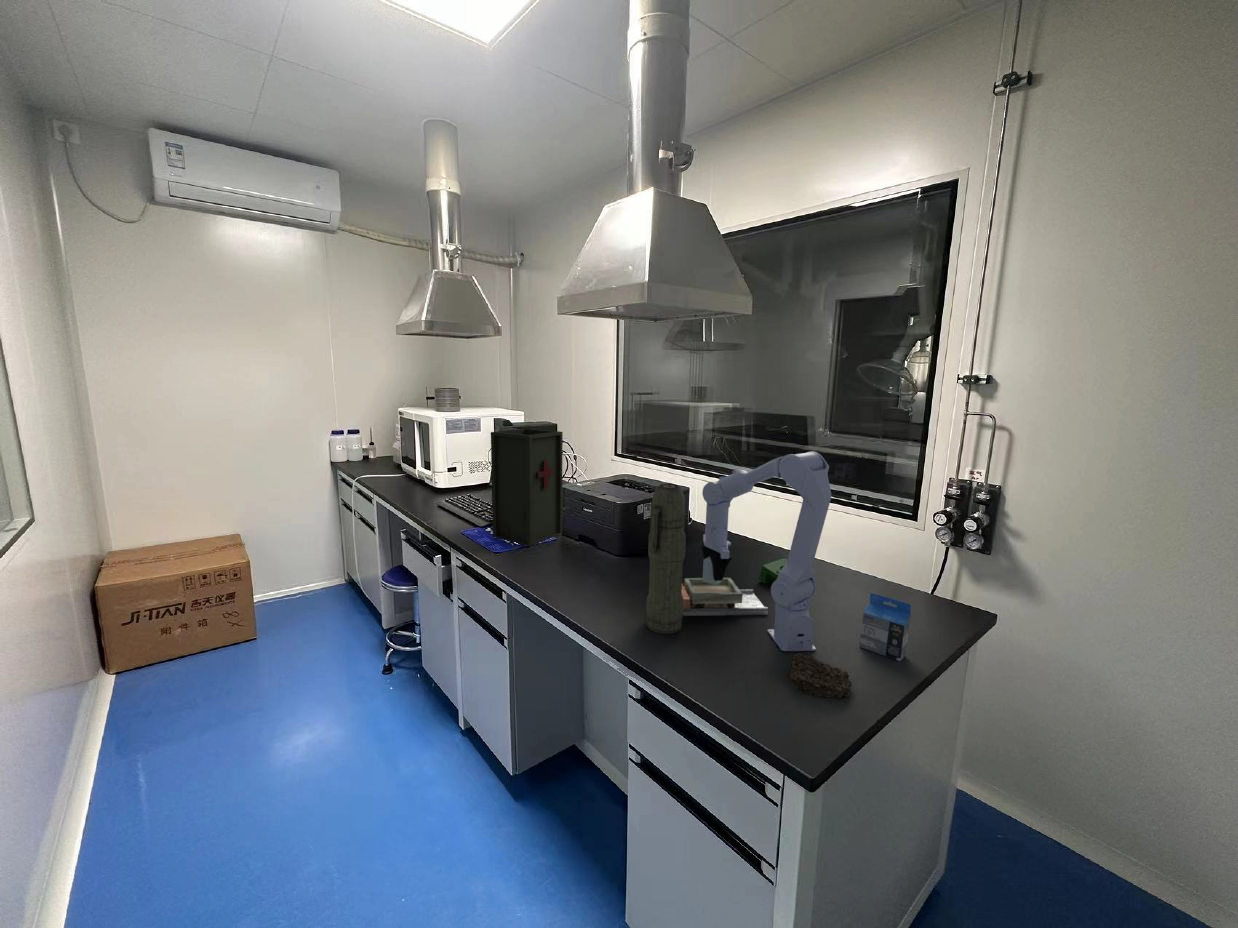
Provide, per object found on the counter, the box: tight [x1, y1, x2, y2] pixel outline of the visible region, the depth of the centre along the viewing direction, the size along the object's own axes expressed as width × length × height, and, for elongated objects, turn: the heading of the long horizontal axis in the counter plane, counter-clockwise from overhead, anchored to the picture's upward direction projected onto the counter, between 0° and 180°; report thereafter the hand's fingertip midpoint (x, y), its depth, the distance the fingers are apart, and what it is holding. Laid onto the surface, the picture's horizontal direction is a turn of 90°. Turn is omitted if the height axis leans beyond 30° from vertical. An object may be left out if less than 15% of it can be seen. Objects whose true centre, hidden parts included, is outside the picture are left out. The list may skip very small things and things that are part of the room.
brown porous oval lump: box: [788, 652, 852, 699], centre depth 101 cm, size 12×10×5 cm
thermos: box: [645, 483, 687, 635], centre depth 123 cm, size 9×12×35 cm
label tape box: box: [859, 592, 912, 662], centre depth 114 cm, size 9×4×12 cm, turn 45°
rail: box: [681, 583, 769, 617], centre depth 137 cm, size 12×22×4 cm, turn 94°
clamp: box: [758, 557, 788, 585], centre depth 154 cm, size 12×6×9 cm, turn 122°
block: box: [702, 557, 723, 585], centre depth 136 cm, size 4×4×6 cm
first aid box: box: [490, 428, 564, 548], centre depth 191 cm, size 18×18×40 cm
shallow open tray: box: [683, 577, 743, 608], centre depth 137 cm, size 11×13×4 cm
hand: (714, 575), depth 136 cm, fingers closed on block, 6 cm apart
